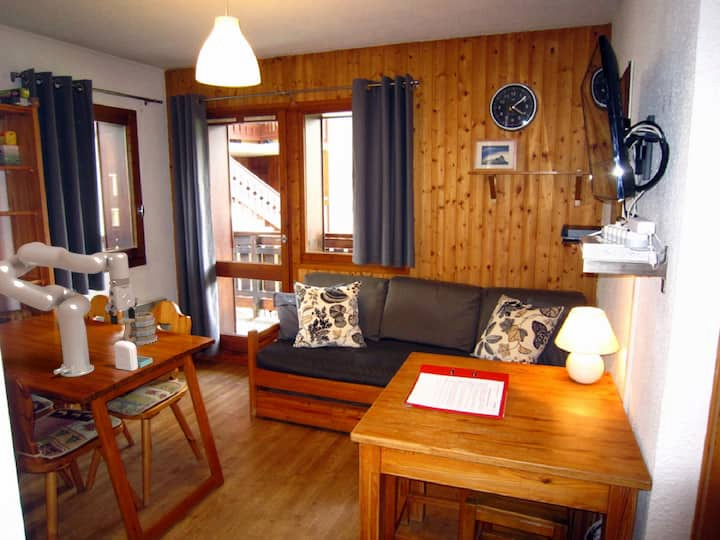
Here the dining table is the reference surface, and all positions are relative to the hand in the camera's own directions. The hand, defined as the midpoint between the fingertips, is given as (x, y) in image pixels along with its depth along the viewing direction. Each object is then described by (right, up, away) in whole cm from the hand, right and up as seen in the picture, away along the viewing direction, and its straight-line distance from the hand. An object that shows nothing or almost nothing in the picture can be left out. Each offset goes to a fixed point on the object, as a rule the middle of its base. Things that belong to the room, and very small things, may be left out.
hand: (123, 321), depth 218 cm
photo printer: (0, -21, +4) cm, 21 cm away
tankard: (-11, -15, +39) cm, 43 cm away
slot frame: (+1, -20, +10) cm, 22 cm away
